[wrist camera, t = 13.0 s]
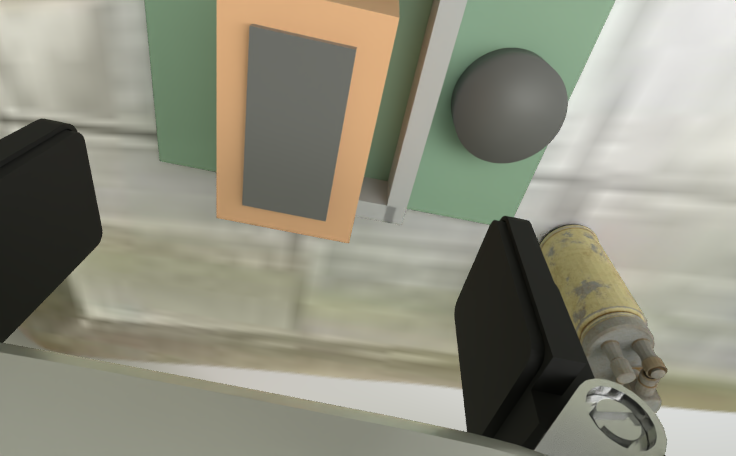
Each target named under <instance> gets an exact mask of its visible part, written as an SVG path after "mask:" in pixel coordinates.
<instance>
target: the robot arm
mask: <svg viewBox="0 0 736 456" xmlns="http://www.w3.org/2000/svg"><path fill="white" fill-rule="evenodd" d="M101 238H102V226H101V221H100V215H99V210H98V205H97V200H96V195H95V190H94V185H93V180H92V175H91V170H90V165H89V160H88V155H87V149H86V144H85V140H84V137H83V136H82V134H80V133H78V132H77V130H76V128H75V127H74V126H73V125H71V124H67V123H62V122H57V121H53V120H48V119H39V120H36V121H35V122H33V123H31V124H29V125H27V126H25V127H23V128H21V129H19V130H17V131H16V132H14V133H12V134H10V135H8V136H6V137H4V138H2V139H0V456H665V455H664V454H665V452H666V445H667V438H666V435H665V431H664V428H663V426H662V424H661V422H660V420H659V419H658V417H657V416H656V414H655V413H654V412H653V410H652V409H651V408H650V407H649V406H648V405H647V404H646V402H644V401H643V400H642V399H641V398H640V397H638V396H637V395H636V394H635V393H634V392H632V391H630V390H629V389H627V388H625V387H623V386H622V385H620V384H617V383H615V382H612V381H609V380H605V379H596V378H595V377H594V375H593V372H592V370H591V367H590V365H589V362H588V360H587V357H586V355H585V353H584V350H583V348H582V345H581V343H580V340H579V338H578V335H577V333H576V330H575V328H574V325H573V323H572V320H571V318H570V315H569V313H568V310H567V308H566V306H565V303H564V301H563V298H562V296H561V293H560V291H559V289H558V287H557V285H556V284H555V283H554V280H553V278H552V275H551V273H550V270H549V268H548V265H547V263H546V260H545V258H544V255H543V253H542V250H541V248H540V245H539V243H538V240H537V238H536V235H535V233H534V230H533V228H532V225H531V223H530V222H529V221H528V220H523V219H519V218H514V217H509V216H503V217H502V218H501V219H500V221H498V220H493V221H492V222H491V224H490V226H489V229H488V231H487V233H486V235H485V238H484V240H483V242H482V245H481V247H480V249H479V252H478V254H477V256H476V258H475V261H474V263H473V265H472V268H471V270H470V272H469V274H468V277H467V279H466V281H465V284H464V286H463V288H462V291H461V293H460V295H459V297H458V300H457V302H456V306H455V314H454V315H455V325H456V335H457V344H458V353H459V362H460V371H461V380H462V389H463V397H464V407H465V416H466V425H467V432H464V431H459V430H455V429H449V428H445V427H440V426H435V425H430V424H426V423H421V422H416V421H411V420H407V419H402V418H397V417H393V416H387V415H383V414H378V413H372V412H367V411H362V410H357V409H352V408H346V407H341V406H336V405H331V404H326V403H320V402H315V401H310V400H305V399H299V398H295V397H289V396H284V395H279V394H274V393H269V392H263V391H258V390H253V389H248V388H243V387H237V386H232V385H227V384H221V383H216V382H210V381H206V380H200V379H195V378H190V377H184V376H179V375H174V374H168V373H163V372H158V371H152V370H147V369H142V368H136V367H131V366H126V365H120V364H115V363H110V362H104V361H98V360H94V359H88V358H83V357H77V356H72V355H66V354H61V353H55V352H50V351H45V350H39V349H34V348H28V347H23V346H16V345H11V344H6V343H3V342H4V341H5V340H6V339H7V338H8V337H9V336H10V335H11V334H12V333H13V332H14V331H15V330H16V329H17V328H18V327H19V326H20V325H21V324H22V323H23V322H24V321H25V320H26V318H27V317H28V316H29V315H30V314H31V313H32V312H33V311H34V310H35V309H36V308H37V307H38V306H39V305H40V304H41V303H42V302H43V301H44V300H45V299H46V298H47V297H48V296H49V295H50V294H51V293H52V292H53V291H54V290H55V289H56V288H57V287H58V286H59V285H60V284H61V283H62V282H63V281H64V279H65V278H66V277H67V276H68V275H69V274H70V273H71V272H72V271H73V270H74V269H75V268H76V267H77V266H78V265H79V264H80V263H81V262H82V261H83V260H84V259H85V258H86V257H87V256H88V255H89V254H90V253H91V252H92V251H93V250H94V249H95V248H96V247H97V245H98V244H99V243H100V241H101Z"/></svg>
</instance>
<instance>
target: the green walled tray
mask: <svg viewBox="0 0 736 456" xmlns="http://www.w3.org/2000/svg"><path fill="white" fill-rule="evenodd" d="M614 3H615V0H399V17H400V18H399V22H398V27H397V31H396V36H395V40H394V45H393V49H392V54H391V58H390V62H389V67H388V71H387V76H386V80H385V85H384V89H383V94H382V98H381V103H380V107H379V111H378V116H377V120H376V125H375V129H374V134H373V138H372V143H371V147H370V152H369V156H368V160H367V165H366V169H365V174H364V178H363V183H362V187H361V192H360V196H359V201H358V205H357V209H356V214H355V217H361V218H366V219H371V220H376V221H382V222H387V223H392V224H397V225H402V223H403V219H404V216H405V212H406V209H411V210H416V211H421V212H426V213H432V214H437V215H442V216H447V217H452V218H457V219H463V220H468V221H473V222H478V223H483V224H489V225H490V224H491V222H492V221H493V220H498V221H500V219H501V218H502V217H503V216H509V217H514V215H515V213H516V211H517V209H518V207H519V205H520V203H521V200H522V198H523V196H524V194H525V192H526V190H527V188H528V186H529V183H530V181H531V179H532V177H533V175H534V173H535V171H536V169H537V166H538V164H539V162H540V160H541V158H542V156H543V154H544V151H545V149H546V147H547V145H548V144H549V143H550V142H551V141H552V140H553V139H554V137H555V136H556V135H557V133H558V132H559V130H560V128H561V126H562V124H563V122H564V120H565V116H566V113H567V106H568V100H569V98H570V96H571V94H572V92H573V90H574V88H575V86H576V83H577V81H578V79H579V77H580V75H581V73H582V71H583V69H584V66H585V64H586V62H587V60H588V58H589V56H590V54H591V51H592V49H593V47H594V45H595V43H596V41H597V39H598V37H599V34H600V32H601V30H602V28H603V26H604V24H605V22H606V20H607V17H608V15H609V13H610V11H611V9H612V7H613V5H614ZM145 11H146V22H147V32H148V43H149V53H150V64H151V74H152V85H153V96H154V106H155V117H156V127H157V138H158V149H159V159H160V161H162V162H167V163H172V164H177V165H182V166H188V167H193V168H198V169H203V170H208V171H214V172H217V0H145Z"/></svg>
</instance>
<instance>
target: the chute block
mask: <svg viewBox="0 0 736 456" xmlns="http://www.w3.org/2000/svg"><path fill="white" fill-rule="evenodd" d="M399 18H400V17H399V0H217V218H220V219H225V220H231V221H236V222H241V223H246V224H251V225H256V226H262V227H267V228H272V229H277V230H282V231H288V232H293V233H298V234H303V235H308V236H313V237H319V238H324V239H329V240H334V241H339V242H344V243H349V241H350V236H351V232H352V227H353V223H354V218H355V214H356V209H357V205H358V201H359V196H360V192H361V187H362V183H363V178H364V174H365V169H366V165H367V160H368V156H369V152H370V147H371V143H372V138H373V134H374V129H375V125H376V120H377V116H378V111H379V107H380V103H381V98H382V94H383V89H384V85H385V80H386V76H387V71H388V67H389V62H390V58H391V54H392V49H393V45H394V40H395V36H396V31H397V27H398V22H399Z"/></svg>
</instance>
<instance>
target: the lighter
mask: <svg viewBox="0 0 736 456" xmlns="http://www.w3.org/2000/svg"><path fill="white" fill-rule="evenodd" d="M540 248H541V250H542V253H543V255H544V258H545V260H546V263H547V265H548V268H549V270H550V273H551V275H552V278H553V280H554V283H555V284H556V285H557V287H558V289H559V291H560V293H561V296H562V298H563V301H564V303H565V306H566V308H567V310H568V313H569V315H570V318H571V320H572V323H573V325H574V328H575V330H576V333H577V335H578V338H579V340H580V343H581V345H582V348H583V350H584V353H585V355H586V357H587V360H588V362H589V365H590V367H591V370H592V372H593V375H594V377H595V378H596V379H605V380H609V381H612V382H615V383H617V384H620V385H622V386H623V387H625V388H627V389H629V390H630V391H632V392H634V393H635V394H636V395H637V396H638V397H640V398H641V399H642V400H643V401H644V402H646V404H647V405H648V406H649V407H650V408H651V409H652V410H653V412H654V413H657V411H658V410H659V409H660V406H661V398H660V397H659V395H658V393H657V391H656V387H657V383H658V382H659V380H660V378H662V377H663V376H664V375H665V374H666V373H667V368H666V367H665V365H664V363H663V362H662V360H661V359H660V358H659V357H658V356H656V354H655V353H654V350H653V348H654V338H653V335H652V333H651V332H650V330H649V328H648V327H647V326H648V324H647V320H646V318H645V316H644V314H643V313H642V311H641V309H640V308H639V306H638V304H637V303H636V301H635V300H634V298H633V296H632V295H631V293H630V292H629V290H628V288H627V287H626V285H625V284H624V282H623V280H622V279H621V277H620V276H619V274H618V272H617V271H616V269H615V268H614V266H613V264H612V263H611V261H610V260H609V258H608V256H607V255H606V253H605V252H604V250H603V248H602V247H601V245H600V243H599V241H598V238H597V236H596V234H595V233H594V232H593V231H592V230H591V229H589V228H587V227H585V226H581V225H567V226H563V227H560V228H558V229H556V230H554V231H552V232H551V233H549V234H548V235H547V236H546V237H545V238H544V239H543V241H542V242H541V244H540Z"/></svg>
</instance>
